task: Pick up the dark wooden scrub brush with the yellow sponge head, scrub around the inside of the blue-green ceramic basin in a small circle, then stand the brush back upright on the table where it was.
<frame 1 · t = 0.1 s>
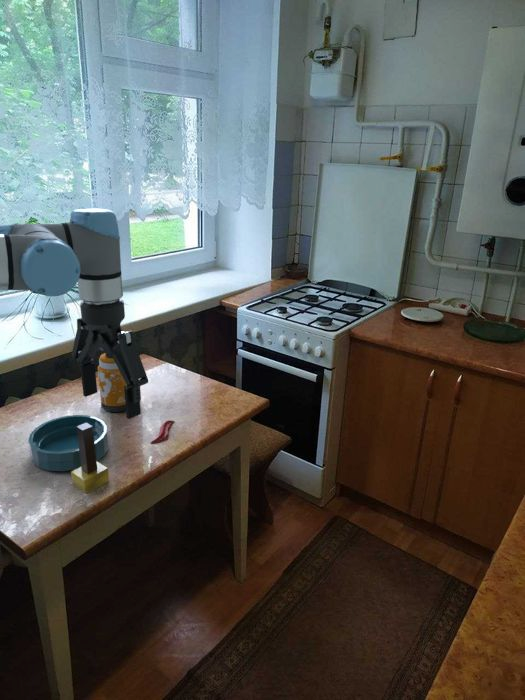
hand: (111, 404, 96), 23 cm above the table, tool pointing down, fingers open, 13 cm apart
scrub brush: (91, 483, 110), on the table
cayenne pepper: (164, 433, 131), on the table
basin: (71, 452, 121), on the table
canister: (120, 405, 144), on the table
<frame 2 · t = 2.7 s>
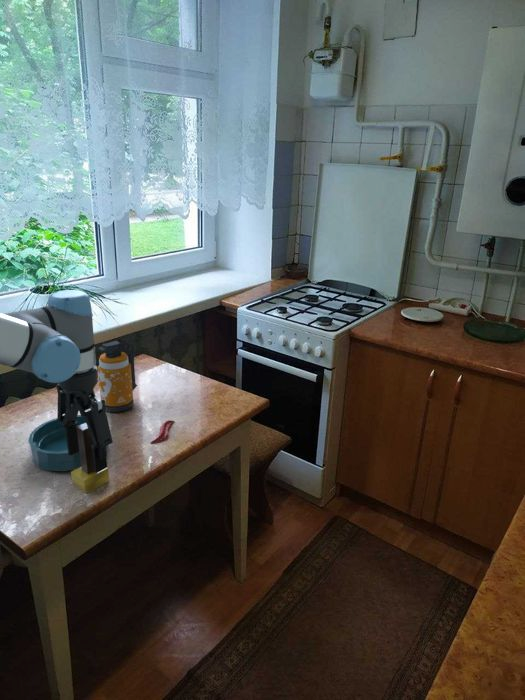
hand: (87, 460, 108), 6 cm above the table, tool pointing down, fingers open, 9 cm apart
nothing on the table moved.
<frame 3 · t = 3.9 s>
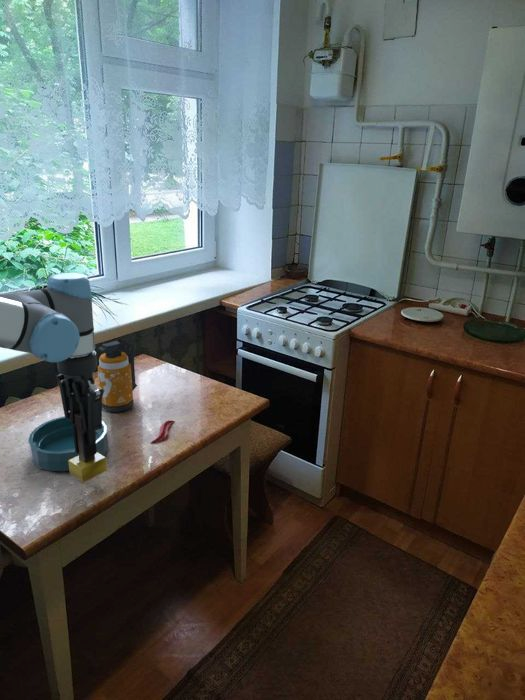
hand: (86, 452, 107), 8 cm above the table, tool pointing down, fingers closed on scrub brush, 2 cm apart
scrub brush: (88, 472, 109), point 3 cm above the table, touching gripper
everything else where it was.
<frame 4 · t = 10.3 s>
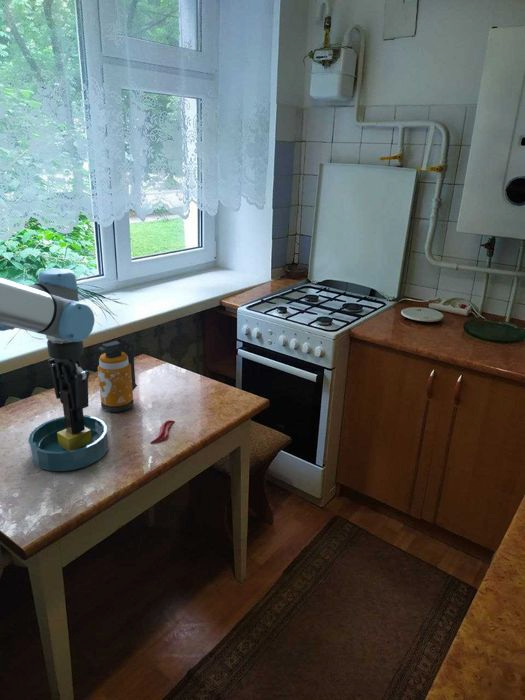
hand: (75, 428, 120), 6 cm above the table, tool pointing down, fingers closed on scrub brush, 2 cm apart
scrub brush: (75, 443, 121), point 2 cm above the table, touching gripper
everything else where it was.
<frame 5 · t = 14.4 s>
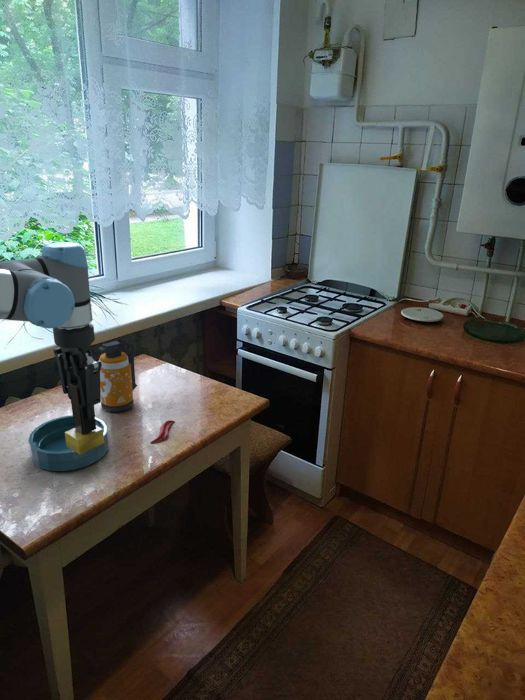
hand: (85, 428, 105), 14 cm above the table, tool pointing down, fingers closed on scrub brush, 2 cm apart
scrub brush: (85, 444, 106), point 10 cm above the table, touching gripper
everything else where it was.
when the fingers open (4 cm above the table, at t = 17.0 s): scrub brush stays where it is, on the table.
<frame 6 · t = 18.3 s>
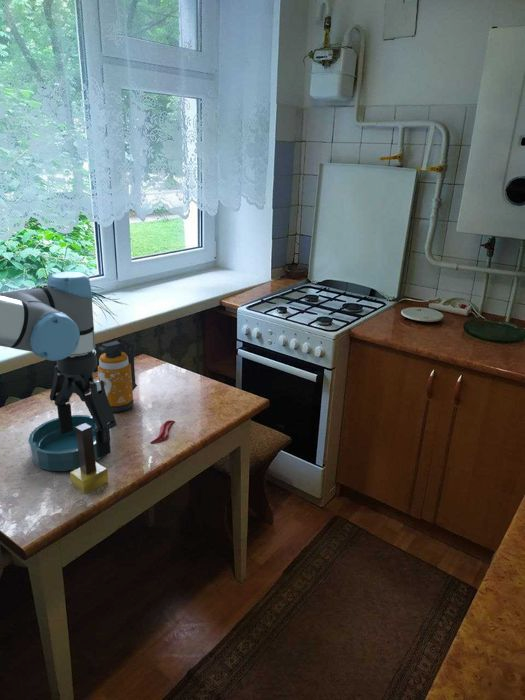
hand: (84, 443, 106), 11 cm above the table, tool pointing down, fingers open, 13 cm apart
scrub brush: (90, 483, 110), on the table
everything else where it was.
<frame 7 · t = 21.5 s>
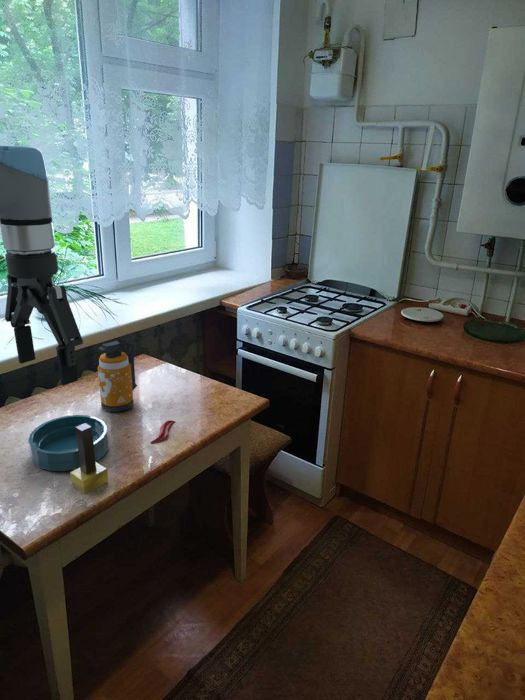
hand: (47, 371, 87), 33 cm above the table, tool pointing down, fingers open, 13 cm apart
nothing on the table moved.
at the end: scrub brush inside the target area (0.3 cm from its centre), on the table; scrub brush tilted 0°; the gripper is holding nothing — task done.
